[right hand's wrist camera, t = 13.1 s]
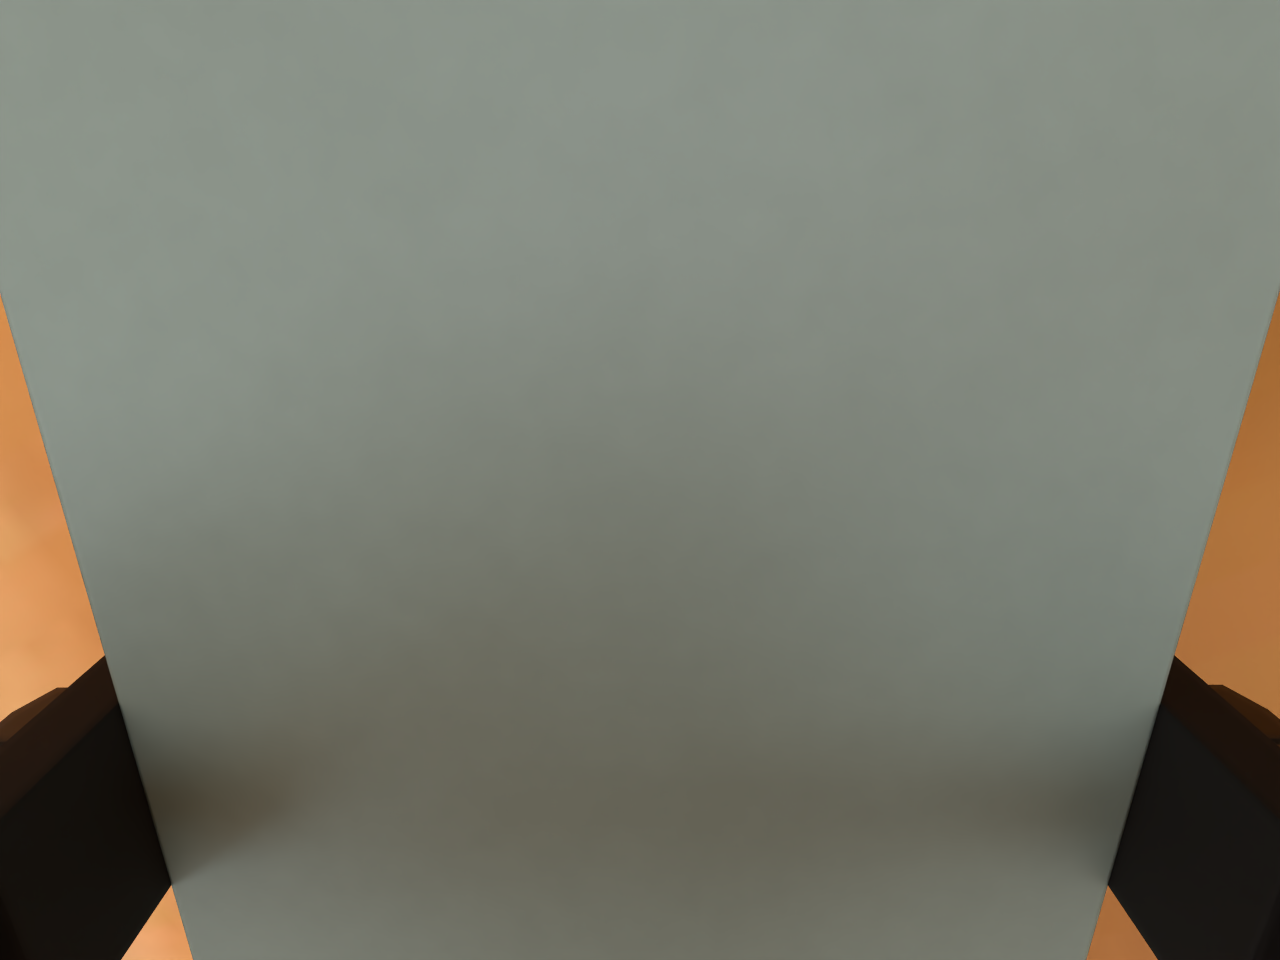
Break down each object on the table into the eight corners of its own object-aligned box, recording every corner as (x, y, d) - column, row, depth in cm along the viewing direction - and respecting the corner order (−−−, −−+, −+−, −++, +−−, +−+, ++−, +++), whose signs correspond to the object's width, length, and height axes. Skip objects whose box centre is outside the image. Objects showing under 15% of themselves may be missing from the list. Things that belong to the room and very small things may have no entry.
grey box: (361, 69, 16) (-133, -141, 6) (917, 68, 16) (1411, -141, 6) (425, 622, 21) (216, 1047, 10) (854, 622, 21) (1064, 1048, 10)
